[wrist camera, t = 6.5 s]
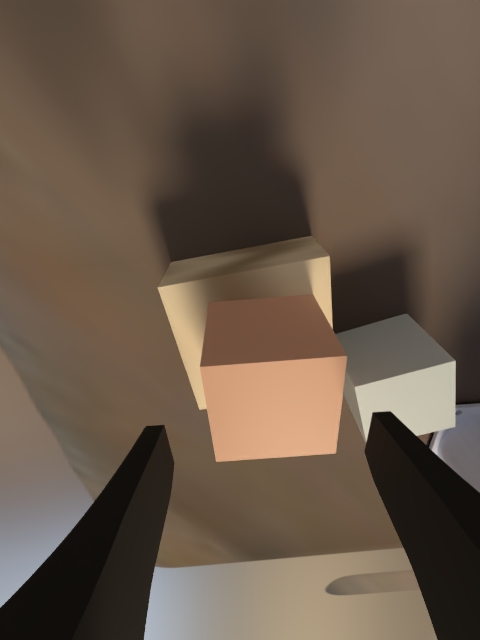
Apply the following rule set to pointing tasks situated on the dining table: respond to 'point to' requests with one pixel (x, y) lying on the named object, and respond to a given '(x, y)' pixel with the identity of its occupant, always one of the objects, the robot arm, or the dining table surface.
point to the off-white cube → (399, 375)
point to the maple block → (239, 289)
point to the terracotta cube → (272, 378)
